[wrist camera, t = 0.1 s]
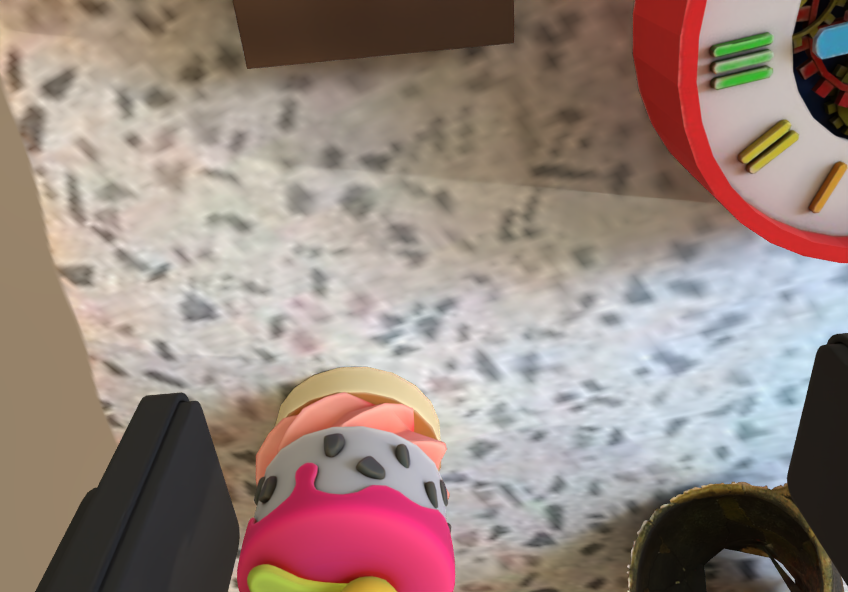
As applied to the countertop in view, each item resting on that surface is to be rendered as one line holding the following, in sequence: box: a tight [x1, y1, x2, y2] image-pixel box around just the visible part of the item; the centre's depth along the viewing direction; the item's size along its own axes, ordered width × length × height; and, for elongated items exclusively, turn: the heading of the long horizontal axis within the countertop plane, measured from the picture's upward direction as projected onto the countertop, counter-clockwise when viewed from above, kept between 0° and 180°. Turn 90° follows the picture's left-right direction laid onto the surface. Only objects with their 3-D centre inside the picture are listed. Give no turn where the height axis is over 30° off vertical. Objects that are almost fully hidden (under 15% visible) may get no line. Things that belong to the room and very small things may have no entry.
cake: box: [237, 367, 455, 592], centre depth 36 cm, size 10×10×15 cm
